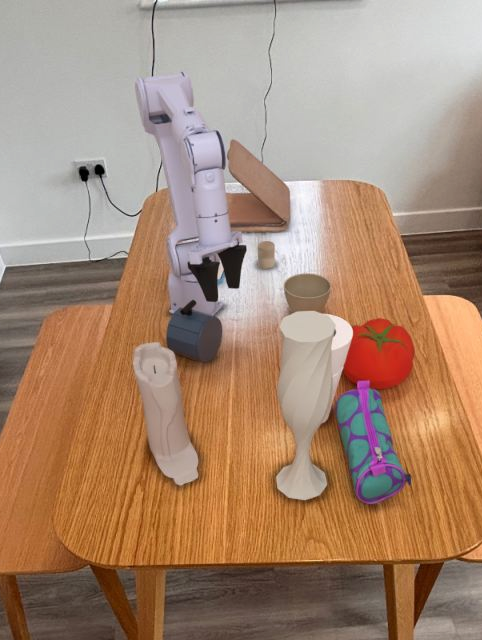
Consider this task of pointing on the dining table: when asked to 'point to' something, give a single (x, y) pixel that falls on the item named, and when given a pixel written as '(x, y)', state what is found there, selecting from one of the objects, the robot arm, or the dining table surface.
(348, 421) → the pencil case
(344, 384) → the dining table surface
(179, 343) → the blue cylindrical container
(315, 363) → the vase
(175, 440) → the candle
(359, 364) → the tomato
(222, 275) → the smartphone
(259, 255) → the peg
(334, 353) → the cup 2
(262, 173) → the case
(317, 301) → the flower pot
